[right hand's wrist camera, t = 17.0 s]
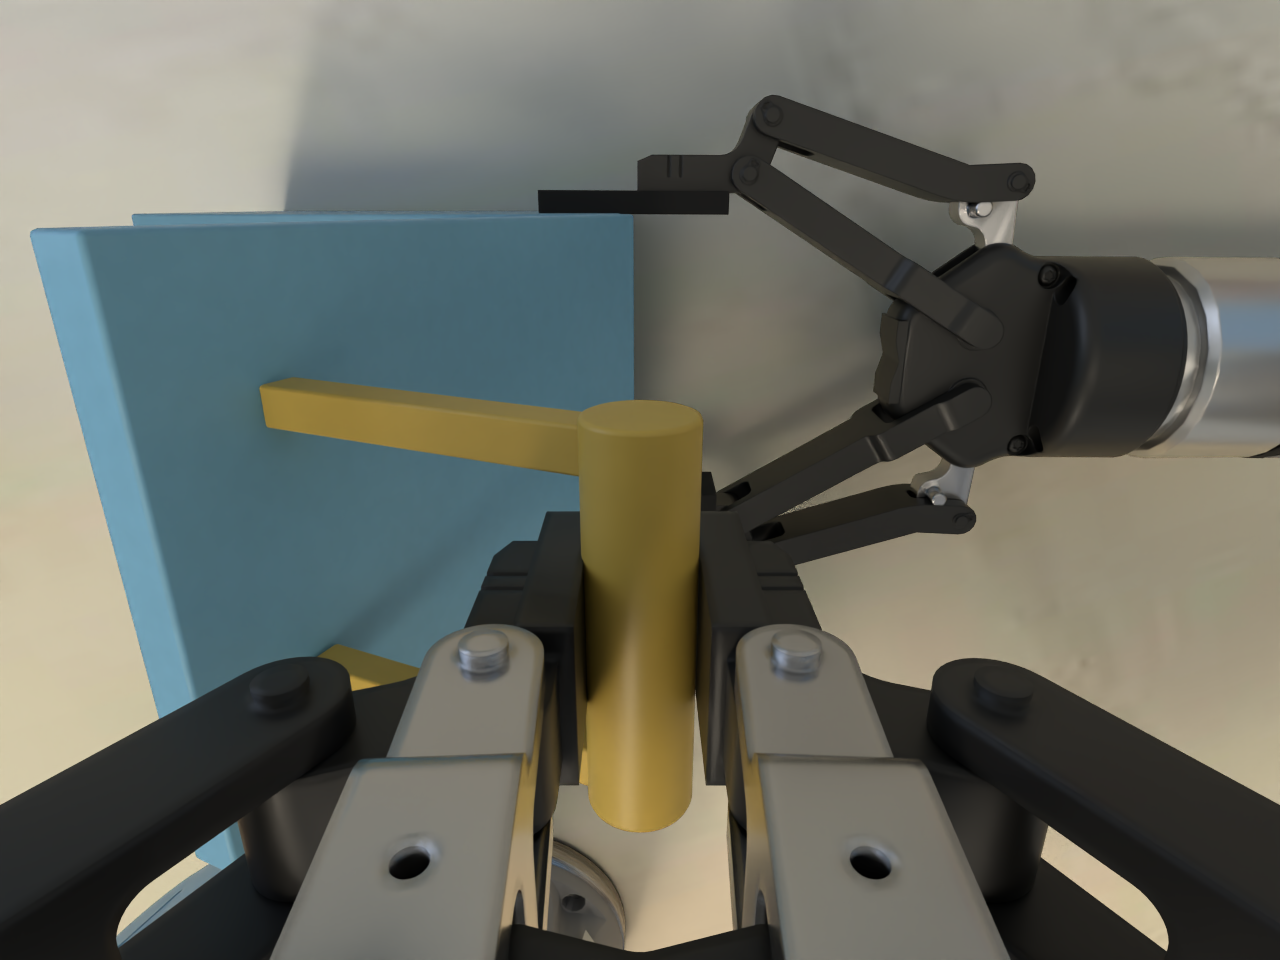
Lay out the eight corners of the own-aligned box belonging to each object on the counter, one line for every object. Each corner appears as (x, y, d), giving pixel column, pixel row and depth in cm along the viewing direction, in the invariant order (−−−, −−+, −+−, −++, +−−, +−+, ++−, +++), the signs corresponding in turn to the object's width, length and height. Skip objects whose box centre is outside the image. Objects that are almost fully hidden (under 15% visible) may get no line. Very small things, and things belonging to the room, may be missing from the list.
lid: (194, 859, 13) (620, 1067, 10) (24, 228, 9) (608, 240, 6) (608, 521, 27) (840, 562, 24) (603, 214, 23) (875, 215, 20)
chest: (316, 432, 37) (196, 516, 27) (282, 211, 34) (129, 213, 24) (627, 432, 37) (622, 517, 27) (626, 211, 34) (619, 213, 24)
